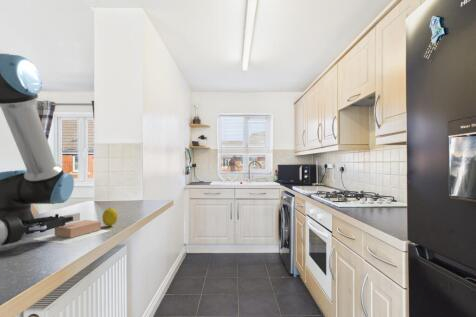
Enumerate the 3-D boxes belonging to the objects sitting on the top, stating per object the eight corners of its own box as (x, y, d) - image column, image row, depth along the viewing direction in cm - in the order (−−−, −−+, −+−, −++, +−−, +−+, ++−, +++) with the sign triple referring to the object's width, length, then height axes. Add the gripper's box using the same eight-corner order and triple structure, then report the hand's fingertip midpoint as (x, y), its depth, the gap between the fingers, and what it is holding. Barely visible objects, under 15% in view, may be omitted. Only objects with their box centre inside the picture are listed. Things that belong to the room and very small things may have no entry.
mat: (31, 239, 86) (31, 239, 86) (80, 227, 102) (80, 227, 102) (65, 245, 80) (65, 244, 80) (111, 231, 97) (111, 230, 97)
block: (54, 226, 89) (85, 219, 100) (54, 236, 89) (85, 228, 100) (70, 228, 86) (100, 221, 97) (70, 238, 86) (100, 230, 97)
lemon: (113, 228, 101) (113, 208, 101) (99, 228, 101) (99, 208, 101) (119, 225, 106) (120, 206, 107) (106, 225, 107) (107, 206, 107)
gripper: (-15, 243, 73) (65, 225, 95) (14, 248, 69) (91, 228, 91) (-14, 217, 73) (66, 205, 95) (15, 220, 69) (91, 207, 91)
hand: (78, 216), depth 93 cm, fingers closed
